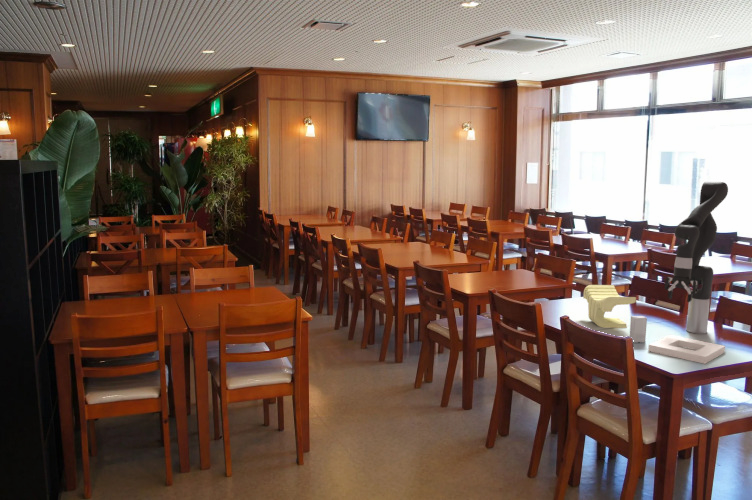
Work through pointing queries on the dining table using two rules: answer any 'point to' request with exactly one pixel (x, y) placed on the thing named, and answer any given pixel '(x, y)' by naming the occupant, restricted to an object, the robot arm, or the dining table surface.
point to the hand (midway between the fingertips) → (679, 300)
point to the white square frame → (701, 355)
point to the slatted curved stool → (605, 304)
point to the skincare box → (638, 328)
